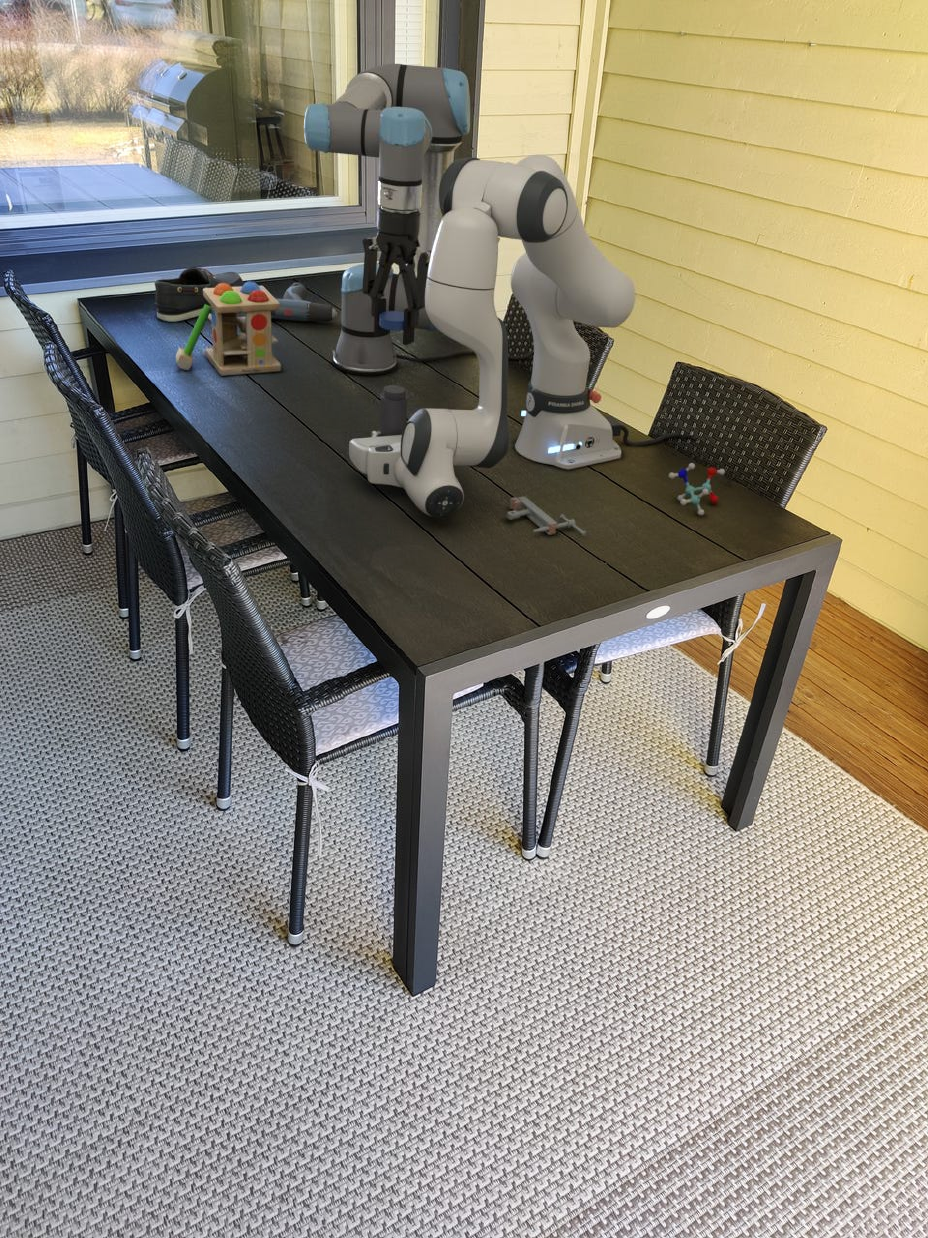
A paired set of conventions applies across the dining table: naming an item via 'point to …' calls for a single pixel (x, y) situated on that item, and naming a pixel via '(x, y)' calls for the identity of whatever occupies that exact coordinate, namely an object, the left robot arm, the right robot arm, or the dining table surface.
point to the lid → (391, 320)
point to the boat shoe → (188, 292)
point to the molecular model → (691, 490)
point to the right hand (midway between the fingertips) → (390, 432)
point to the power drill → (301, 307)
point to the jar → (393, 410)
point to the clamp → (538, 516)
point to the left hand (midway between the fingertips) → (393, 338)
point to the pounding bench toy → (229, 347)
